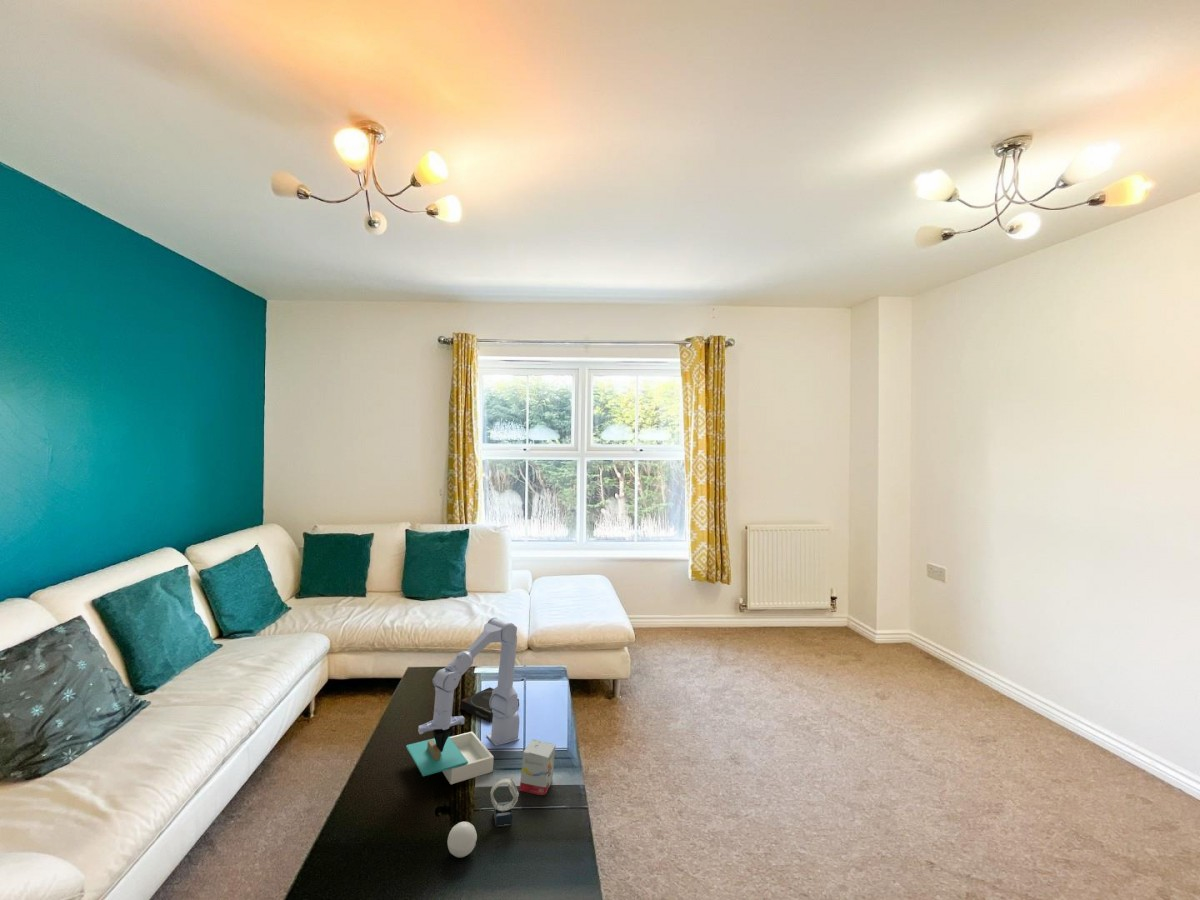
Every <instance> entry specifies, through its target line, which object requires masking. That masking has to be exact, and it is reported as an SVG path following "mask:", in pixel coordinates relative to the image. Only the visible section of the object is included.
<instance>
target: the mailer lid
mask: <svg viewBox="0 0 1200 900" xmlns="http://www.w3.org/2000/svg"><path fill="white" fill-rule="evenodd" d="M450 737H451V736H449V737H448V738H447V740H446V743H445V745H444V748H443V751H442V752H440V750H439V749H438V747H437V746H436V741H435V737H434V738H430V739H426V740H422V741H418V742H417V741H416V742H414V743H410V744H407V745H406V746H405V748H406V749H407V751H408V753H409V755H410V756H411V758H412V760H413V761H414V763H415V766H417V768H418V771H419V772H420V773H421V776H422V777H425V776H430V775H433V774H436V773H441V772H442V771H444V770H447V769H451V768H454V767H458V766H461V765H465V764H468V761H467V760H466V758H465V757H464V756H463V754H462V753H461V752H460V750H459V749H458V748H457V746H456V745H455V744H454V742H453V741H452V740H451V738H450Z"/></svg>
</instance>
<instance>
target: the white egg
mask: <svg viewBox="0 0 1200 900" xmlns="http://www.w3.org/2000/svg"><path fill="white" fill-rule="evenodd" d="M448 833H449V834H448V836H447V841H446V843H447V848H448V851H449V853H450V854H451V855H452V856H454V857H456V858H464V857H466V856H468V855H469V854H471V853H472V851H473V850H474V848H475V847H476V843H477V840H478V835H477V834H478V833H477V831H476V828H475V826H474V825H473V824H472V823H470V822H469V821H461V822H460V821H458V823H457V824H455V825H454V826H453V827H451V830H450V831H449V832H448Z"/></svg>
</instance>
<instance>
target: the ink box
mask: <svg viewBox="0 0 1200 900" xmlns="http://www.w3.org/2000/svg"><path fill="white" fill-rule="evenodd" d="M556 747H557V746H556V744H554V743H551V742H545V741H542V740H536V739H531V740H530V742H529V743H528V745H526V747H525V749H524V750H523V753H522V762H521V763H522V764H521V771H520V773H521V774H520V780H519V781H520V782H519V791H520V792H525V793H529V794H534V795H539V796H543V795H545V794H546V795H547V792H548V791H549V789H550V786H551V784H552V781H553V775H554V768H555V767H554V765H555V755H556ZM546 795H545V796H546Z"/></svg>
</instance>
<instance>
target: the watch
mask: <svg viewBox="0 0 1200 900" xmlns="http://www.w3.org/2000/svg"><path fill="white" fill-rule="evenodd" d="M502 785H507V787H508V790H509V792H510V794H511V796H512V800H511V801H503V802H501V801H500V802H497V801H496V799H495V796H494V793H495V791H496V789H498V788H499V787H500V786H502ZM489 795H490V800H491V803H492V804H491V805H492V806H493V814H494V816H493V820H494V819H495V821H494V826H495V825H496V826H498V825H504V824H511V825H512V823H513V822H512V819H513V812H512V809H513V808H514V806H516V805H517V804H516V803H517V802H518V800H519V799H518V797H519V796H520V794H519V791H518V788H517V786H516V783H515V781H514V780H513V778H509V777H503V778H499V779H497V781H495V782H494V783H493V785H492V787H491V789H490V793H489ZM493 814H492V815H493Z"/></svg>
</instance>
